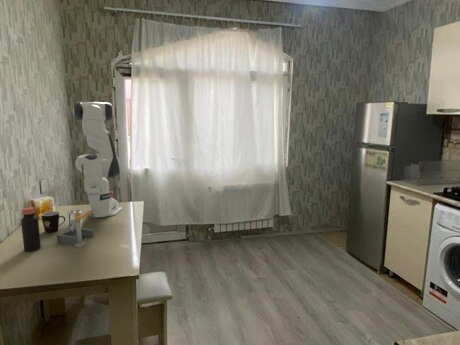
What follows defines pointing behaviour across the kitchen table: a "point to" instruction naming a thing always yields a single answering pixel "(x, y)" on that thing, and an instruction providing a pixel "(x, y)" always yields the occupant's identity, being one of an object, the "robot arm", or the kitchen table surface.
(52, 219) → the coffee mug
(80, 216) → the bar
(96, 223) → the kitchen table surface
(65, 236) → the cradle
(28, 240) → the bottle
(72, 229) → the beer glass
